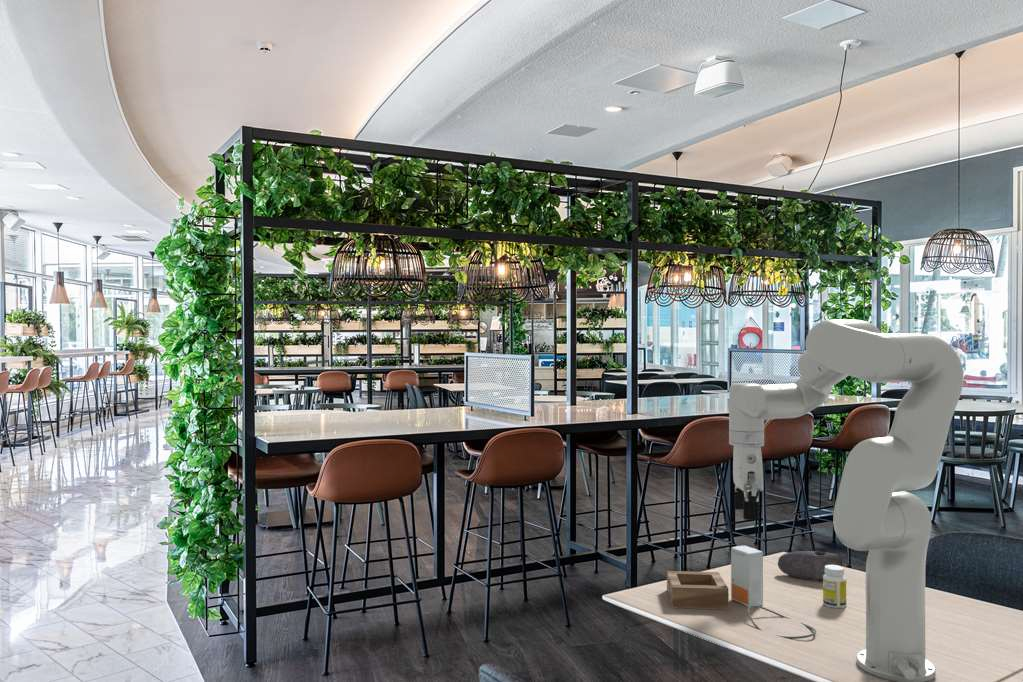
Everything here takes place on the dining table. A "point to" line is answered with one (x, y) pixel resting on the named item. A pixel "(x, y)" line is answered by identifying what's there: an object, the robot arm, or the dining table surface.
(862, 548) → the robot arm
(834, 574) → the supplement bottle
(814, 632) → the loop
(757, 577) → the skincare box
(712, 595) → the holder
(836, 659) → the dining table surface
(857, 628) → the dining table surface
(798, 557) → the perforated stone tool
